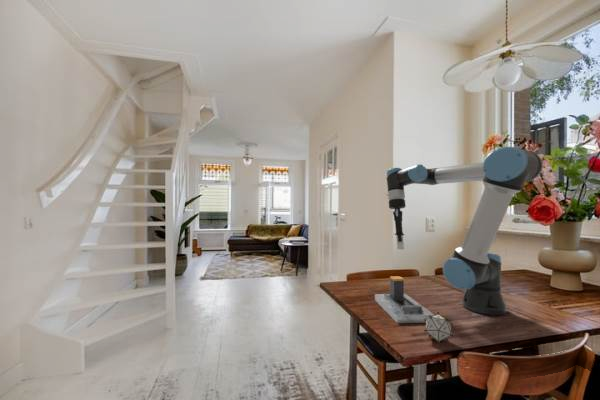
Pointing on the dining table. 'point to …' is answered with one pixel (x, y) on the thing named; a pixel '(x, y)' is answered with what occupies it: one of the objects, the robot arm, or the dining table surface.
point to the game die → (438, 327)
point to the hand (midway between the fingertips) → (400, 249)
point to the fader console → (403, 309)
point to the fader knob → (397, 288)
